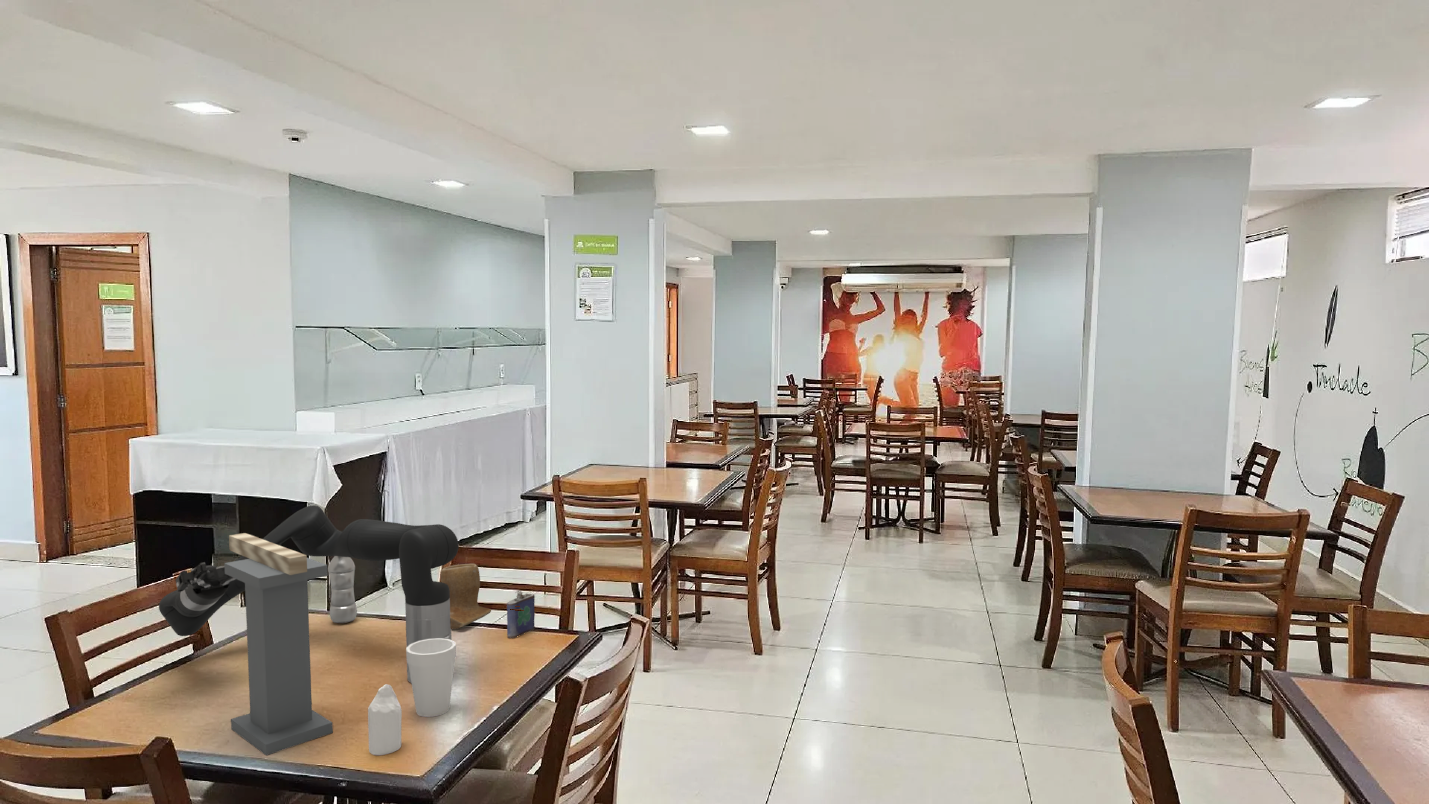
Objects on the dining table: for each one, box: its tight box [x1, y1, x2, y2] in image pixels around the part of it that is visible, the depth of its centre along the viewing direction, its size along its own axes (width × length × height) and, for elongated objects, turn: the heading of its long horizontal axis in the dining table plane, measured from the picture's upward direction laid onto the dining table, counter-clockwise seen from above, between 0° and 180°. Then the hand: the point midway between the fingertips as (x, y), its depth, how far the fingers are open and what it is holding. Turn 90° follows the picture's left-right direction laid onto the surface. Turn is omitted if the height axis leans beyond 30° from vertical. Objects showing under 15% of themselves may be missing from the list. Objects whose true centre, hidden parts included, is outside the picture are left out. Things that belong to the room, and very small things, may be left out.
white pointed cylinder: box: [367, 683, 403, 756], centre depth 157 cm, size 6×12×6 cm
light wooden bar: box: [228, 532, 308, 575], centre depth 165 cm, size 28×3×3 cm, turn 49°
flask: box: [506, 590, 536, 639], centre depth 219 cm, size 9×3×11 cm, turn 151°
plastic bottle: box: [327, 556, 358, 624], centre depth 228 cm, size 6×7×20 cm
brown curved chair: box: [440, 563, 492, 630], centre depth 228 cm, size 15×12×15 cm
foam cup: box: [405, 638, 457, 718], centre depth 173 cm, size 10×9×13 cm
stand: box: [223, 557, 334, 756], centre depth 163 cm, size 16×12×32 cm
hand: (227, 562), depth 178 cm, fingers open, 8 cm apart
